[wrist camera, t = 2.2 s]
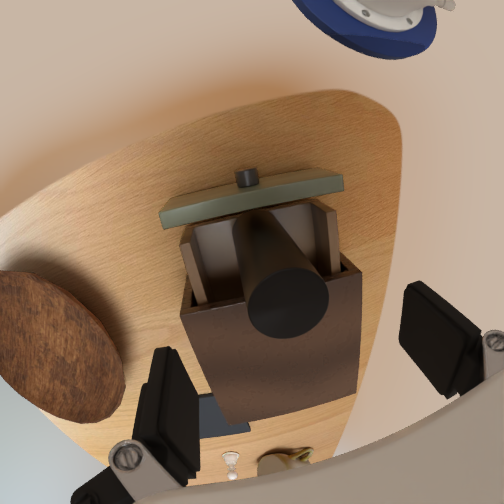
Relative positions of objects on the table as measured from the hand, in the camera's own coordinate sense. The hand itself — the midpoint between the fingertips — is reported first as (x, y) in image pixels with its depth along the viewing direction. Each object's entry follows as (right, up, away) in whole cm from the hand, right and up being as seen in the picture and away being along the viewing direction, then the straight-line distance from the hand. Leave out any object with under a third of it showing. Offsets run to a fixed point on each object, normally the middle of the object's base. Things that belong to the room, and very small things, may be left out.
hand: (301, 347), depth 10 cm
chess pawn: (-5, -30, +28) cm, 42 cm away
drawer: (-1, +4, +14) cm, 15 cm away
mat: (-8, -19, +23) cm, 31 cm away
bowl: (-25, -6, +16) cm, 30 cm away
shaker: (-1, +5, +12) cm, 14 cm away
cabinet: (0, -4, +18) cm, 19 cm away
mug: (+4, -33, +31) cm, 45 cm away
